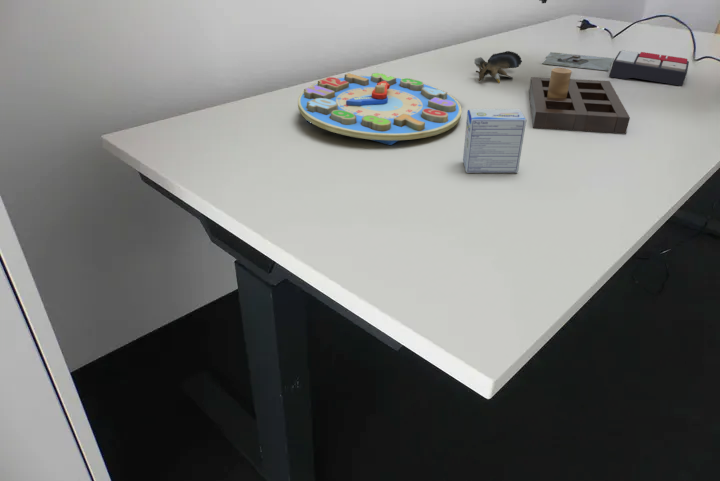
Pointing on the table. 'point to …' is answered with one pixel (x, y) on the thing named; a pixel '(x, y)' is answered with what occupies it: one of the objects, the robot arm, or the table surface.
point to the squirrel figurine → (497, 64)
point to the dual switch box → (649, 67)
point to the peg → (559, 83)
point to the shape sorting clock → (379, 107)
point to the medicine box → (493, 140)
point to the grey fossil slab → (579, 61)
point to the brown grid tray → (578, 107)
